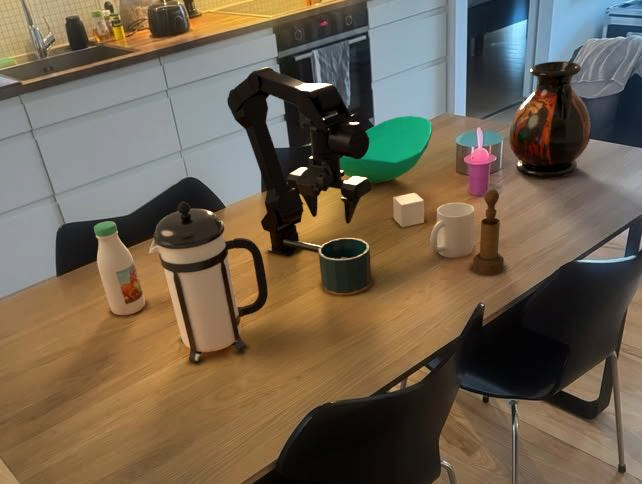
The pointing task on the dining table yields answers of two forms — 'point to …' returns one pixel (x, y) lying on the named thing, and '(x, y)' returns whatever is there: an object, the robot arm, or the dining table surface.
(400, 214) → the white cube
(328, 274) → the saucepan
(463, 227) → the mug
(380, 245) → the dining table surface
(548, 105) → the amphora vase
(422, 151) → the table top decor
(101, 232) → the milk bottle
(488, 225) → the mortar and pestle
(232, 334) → the coffee press
